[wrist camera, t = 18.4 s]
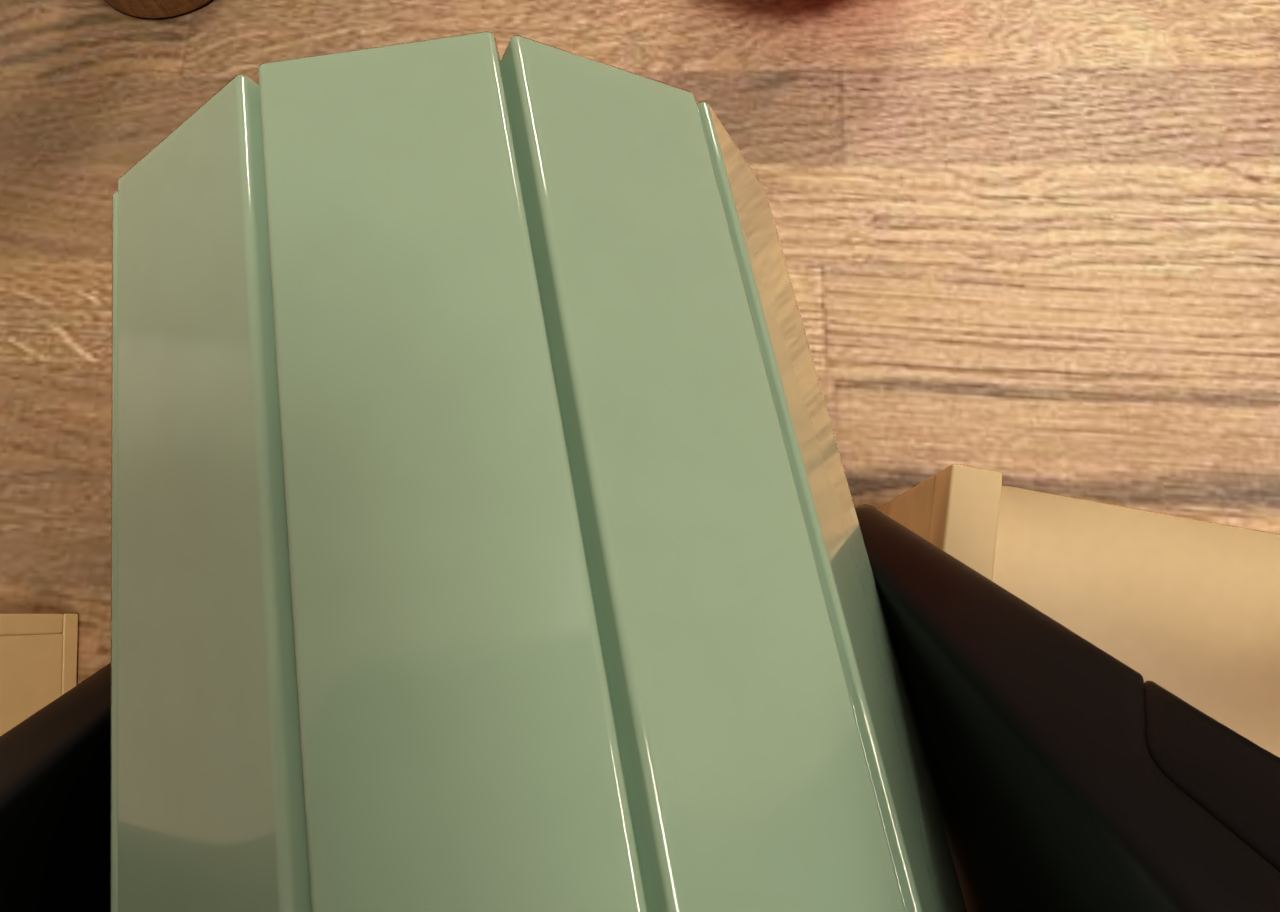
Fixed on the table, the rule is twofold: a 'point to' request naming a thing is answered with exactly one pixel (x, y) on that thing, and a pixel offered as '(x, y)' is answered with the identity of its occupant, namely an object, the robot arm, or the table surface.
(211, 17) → the table surface
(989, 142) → the table surface
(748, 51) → the table surface
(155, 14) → the mortar and pestle
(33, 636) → the tray
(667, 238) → the grooved sage-green cylinder
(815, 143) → the table surface
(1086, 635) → the wooden block
